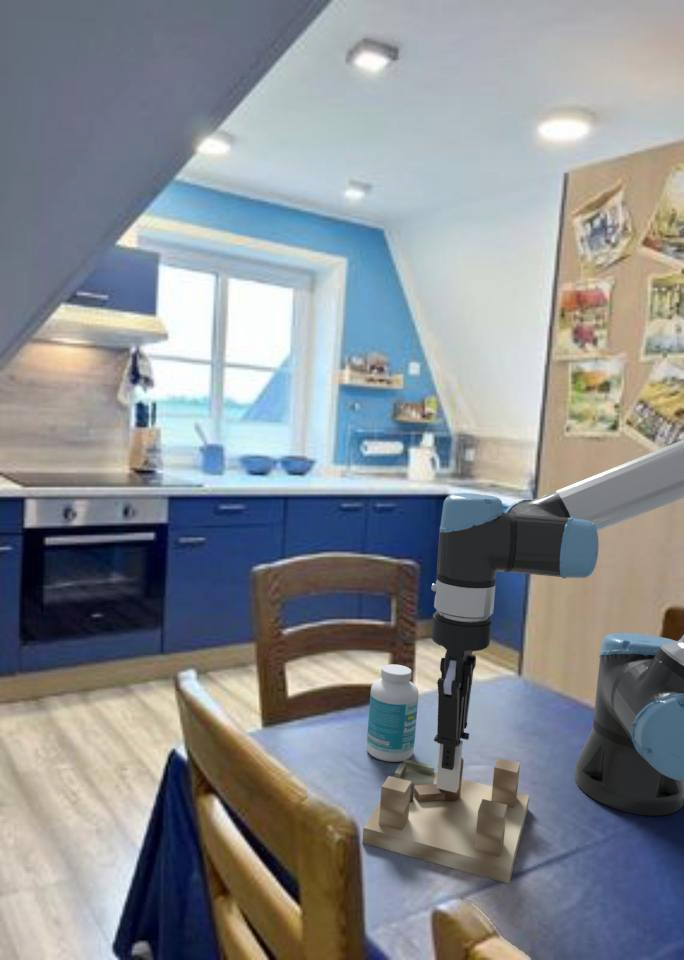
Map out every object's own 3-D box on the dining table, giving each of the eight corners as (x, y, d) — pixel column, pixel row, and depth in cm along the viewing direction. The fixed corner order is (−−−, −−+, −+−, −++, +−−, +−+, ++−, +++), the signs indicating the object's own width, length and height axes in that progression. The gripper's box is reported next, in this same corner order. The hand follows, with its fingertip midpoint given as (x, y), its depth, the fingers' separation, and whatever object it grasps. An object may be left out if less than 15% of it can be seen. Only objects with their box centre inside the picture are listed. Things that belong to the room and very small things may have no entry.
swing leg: (420, 802, 100) (423, 766, 100) (411, 790, 103) (414, 755, 103) (464, 799, 102) (467, 763, 101) (454, 787, 105) (457, 752, 104)
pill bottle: (410, 767, 115) (417, 681, 113) (362, 759, 116) (368, 674, 115) (415, 746, 122) (422, 664, 120) (370, 738, 123) (376, 658, 122)
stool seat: (527, 809, 105) (532, 760, 104) (509, 883, 88) (514, 826, 87) (402, 778, 111) (405, 732, 110) (362, 842, 94) (366, 789, 93)
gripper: (445, 598, 106) (431, 761, 108) (421, 621, 93) (406, 804, 96) (499, 606, 103) (484, 773, 105) (482, 631, 91) (466, 819, 93)
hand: (447, 787), depth 101 cm, fingers closed
